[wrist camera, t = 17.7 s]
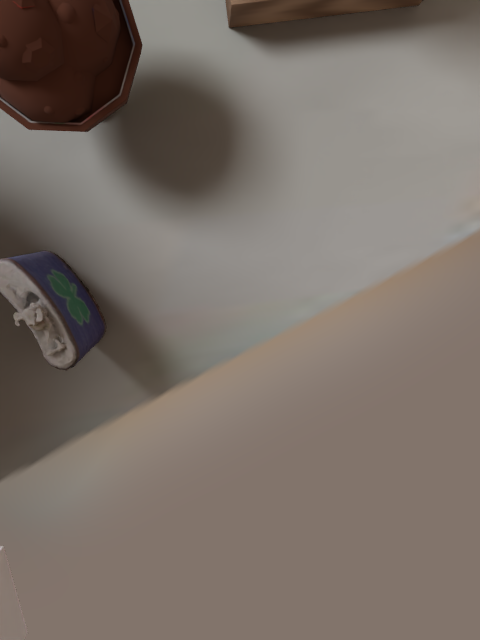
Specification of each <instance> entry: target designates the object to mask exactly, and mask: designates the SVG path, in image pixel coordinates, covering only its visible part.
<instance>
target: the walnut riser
mask: <svg viewBox="0 0 480 640" xmlns="http://www.w3.org/2000/svg"><path fill="white" fill-rule="evenodd" d="M422 1H423V0H226V8H227V16H228V24H229V28H232V27H240V26H248V25H257V24H265V23H274V22H282V21H290V20H299V19H307V18H315V17H324V16H332V15H341V14H349V13H357V12H366V11H374V10H383V9H391V8H399V7H408V6H416V5H419V4H420V3H421V2H422Z"/></svg>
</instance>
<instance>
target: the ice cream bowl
mask: <svg viewBox="0 0 480 640" xmlns="http://www.w3.org/2000/svg"><path fill="white" fill-rule="evenodd" d="M141 50H142V42H141V39H140V36H139V32H138V29H137V26H136V23H135V20H134V16H133V13H132V10H131V7H130V4H129V0H0V108H1V109H2V110H3V111H5V112H6V113H7V114H9V115H10V116H11V117H13V118H14V119H15V120H17V121H18V122H19V123H21V124H22V125H23V126H25V127H26V128H27V129H29V130H54V131H80V132H88V131H89V130H91V129H92V128H94V127H95V126H96V125H98V124H99V123H100V122H102V121H103V120H104V119H106V118H107V117H108V116H110V115H111V114H112V113H114V112H115V111H116V110H118V109H119V108H120V107H122V106H123V105H124V104H126V103H127V100H128V97H129V93H130V90H131V86H132V83H133V79H134V76H135V72H136V69H137V65H138V62H139V58H140V55H141Z"/></svg>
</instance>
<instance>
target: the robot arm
mask: <svg viewBox="0 0 480 640" xmlns="http://www.w3.org/2000/svg"><path fill="white" fill-rule="evenodd" d="M27 633H28V630H27V627H26V623H25V620H24V616H23V613H22V609H21V605H20V602H19V599H18V595H17V591H16V588H15V584H14V581H13V577H12V574H11V570H10V567H9V563H8V559H7V556H6V552H5V549H4V546H0V640H25V638H26V636H27Z"/></svg>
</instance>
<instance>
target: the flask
mask: <svg viewBox="0 0 480 640" xmlns="http://www.w3.org/2000/svg"><path fill="white" fill-rule="evenodd" d="M0 293H1V294H2V295H3V296H4V297H5V298H6V299H7V300H8V301H9V302H10V303H11V304H12V305H13V307H14V308H15V309H16V310H17V312H18V313H17V312H15V313H14V315H13V317H14V320H15V325H16V326H20V324H19V321H20V320H24V321H25V322H26V324H27V326H28V327H29V328H30V329H31V331H32V332H33V334H34V336H35V338H36V339H37V341H38V343H39V346H40V348H41V351H42V354H43V356H44V358H45V359H46V361H47V362H48V363H49V364H50V365H51V366H53V367H56V368H58V369H62V370H67V369H69V368H70V367H74V366H75V365H76V364H77V363H78V361H80V360H81V359H82V357H84V356H85V354H86V353H87V352H89V351H90V349H91V348H92V347H94V346H95V345H96V344H97V343H98V342H99V341H100V339H101V338H102V337H103V335H104V333H105V332H106V324H105V320H104V317H103V315H102V313H101V311H100V309H99V306H98V304H96V302H95V299H94V298H93V296H92V295H91V294H90V292H89V290H88V289H87V288H86V287H85V286H84V285H83V283H82V281H80V279H79V278H78V277H77V276H76V275H75V273H74V272H73V271H72V269H71V268H70V267H69V266H68V265H67V264H66V263H65V261H63V259H61V258H60V257H59V256H58V255H56V254H55V253H52V252H49V251H40V252H36V253H31V254H25V255H21V256H15V257H9V258H2V259H0Z"/></svg>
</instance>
